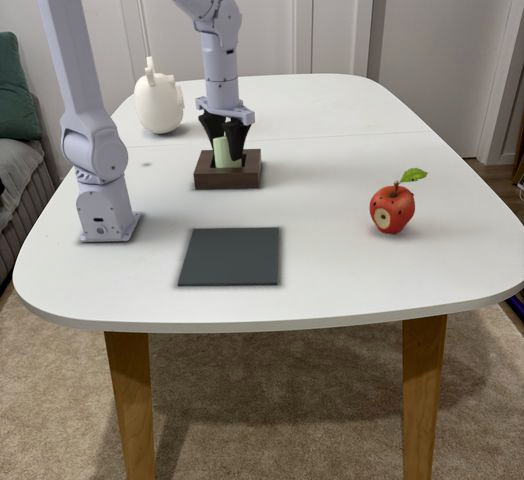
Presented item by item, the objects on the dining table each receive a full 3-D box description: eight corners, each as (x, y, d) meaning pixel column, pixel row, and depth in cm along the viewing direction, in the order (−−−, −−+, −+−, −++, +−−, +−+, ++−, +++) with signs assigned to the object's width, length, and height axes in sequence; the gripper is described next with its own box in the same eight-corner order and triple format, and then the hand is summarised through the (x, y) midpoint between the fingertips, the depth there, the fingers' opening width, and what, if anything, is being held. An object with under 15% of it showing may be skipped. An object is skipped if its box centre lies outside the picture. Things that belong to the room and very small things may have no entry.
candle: (213, 173, 101) (209, 130, 95) (237, 169, 102) (234, 126, 97) (221, 182, 97) (216, 139, 92) (245, 178, 99) (243, 134, 93)
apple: (379, 244, 78) (386, 181, 71) (360, 224, 83) (366, 164, 76) (424, 236, 79) (436, 173, 73) (402, 217, 84) (412, 156, 78)
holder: (258, 188, 95) (258, 172, 93) (195, 189, 96) (193, 173, 94) (261, 163, 104) (260, 148, 102) (203, 164, 105) (201, 150, 103)
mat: (277, 284, 71) (277, 282, 70) (177, 285, 72) (177, 283, 71) (278, 229, 83) (278, 227, 82) (193, 230, 83) (193, 228, 83)
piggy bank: (196, 134, 118) (187, 62, 108) (147, 144, 115) (134, 70, 105) (179, 120, 127) (170, 51, 117) (133, 128, 123) (120, 59, 113)
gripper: (266, 79, 86) (269, 159, 95) (213, 66, 94) (220, 141, 103) (235, 88, 83) (240, 170, 91) (182, 74, 91) (192, 151, 100)
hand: (227, 156), depth 97 cm, fingers closed on candle, 5 cm apart
